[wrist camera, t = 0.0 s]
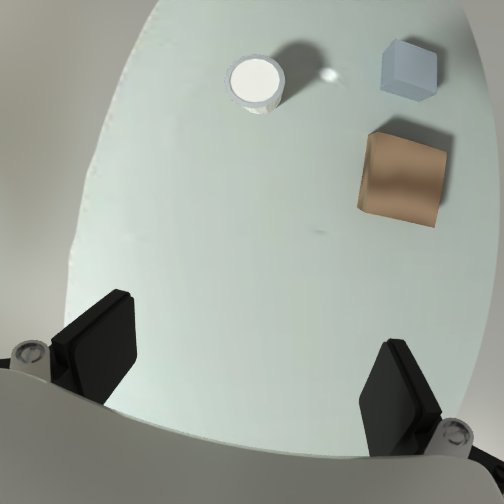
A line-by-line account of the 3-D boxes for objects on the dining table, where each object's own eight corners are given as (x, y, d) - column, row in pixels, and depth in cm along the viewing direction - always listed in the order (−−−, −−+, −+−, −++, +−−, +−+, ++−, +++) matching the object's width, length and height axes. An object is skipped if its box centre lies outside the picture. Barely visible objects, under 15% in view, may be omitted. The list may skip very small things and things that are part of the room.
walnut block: (367, 135, 36) (377, 131, 31) (431, 153, 35) (447, 152, 30) (356, 207, 39) (365, 212, 34) (419, 220, 38) (434, 227, 33)
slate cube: (382, 53, 32) (395, 38, 26) (419, 66, 31) (436, 53, 26) (380, 90, 34) (393, 78, 28) (418, 101, 33) (436, 93, 27)
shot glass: (286, 72, 35) (285, 53, 28) (285, 119, 36) (284, 108, 30) (235, 72, 35) (225, 54, 29) (234, 118, 37) (222, 108, 30)
